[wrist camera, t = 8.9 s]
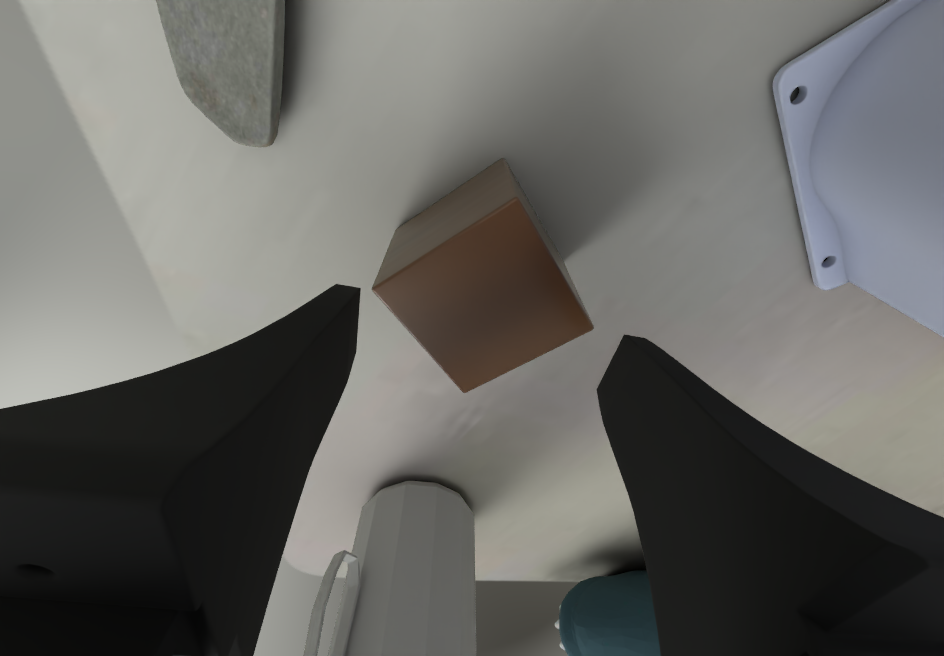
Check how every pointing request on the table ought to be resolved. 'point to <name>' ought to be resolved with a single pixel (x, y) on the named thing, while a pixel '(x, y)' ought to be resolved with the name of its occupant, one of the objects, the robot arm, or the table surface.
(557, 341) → the walnut block
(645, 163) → the table surface
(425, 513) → the water bottle
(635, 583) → the toy
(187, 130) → the table surface
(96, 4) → the table surface
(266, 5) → the decorative stone
